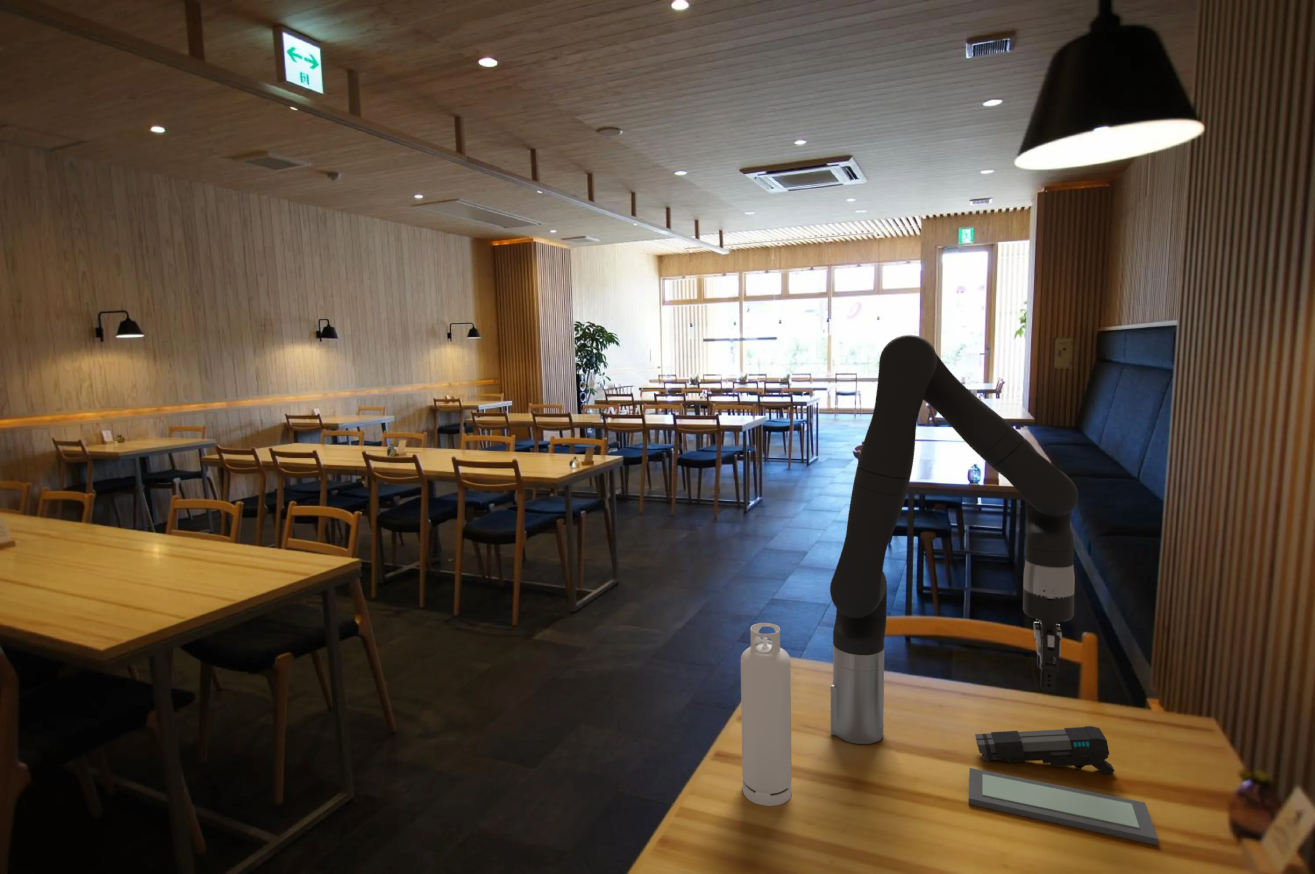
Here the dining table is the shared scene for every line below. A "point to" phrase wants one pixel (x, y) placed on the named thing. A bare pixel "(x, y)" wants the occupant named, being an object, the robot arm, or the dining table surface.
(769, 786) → the bottle
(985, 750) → the gun
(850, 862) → the dining table surface
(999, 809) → the charging mat
